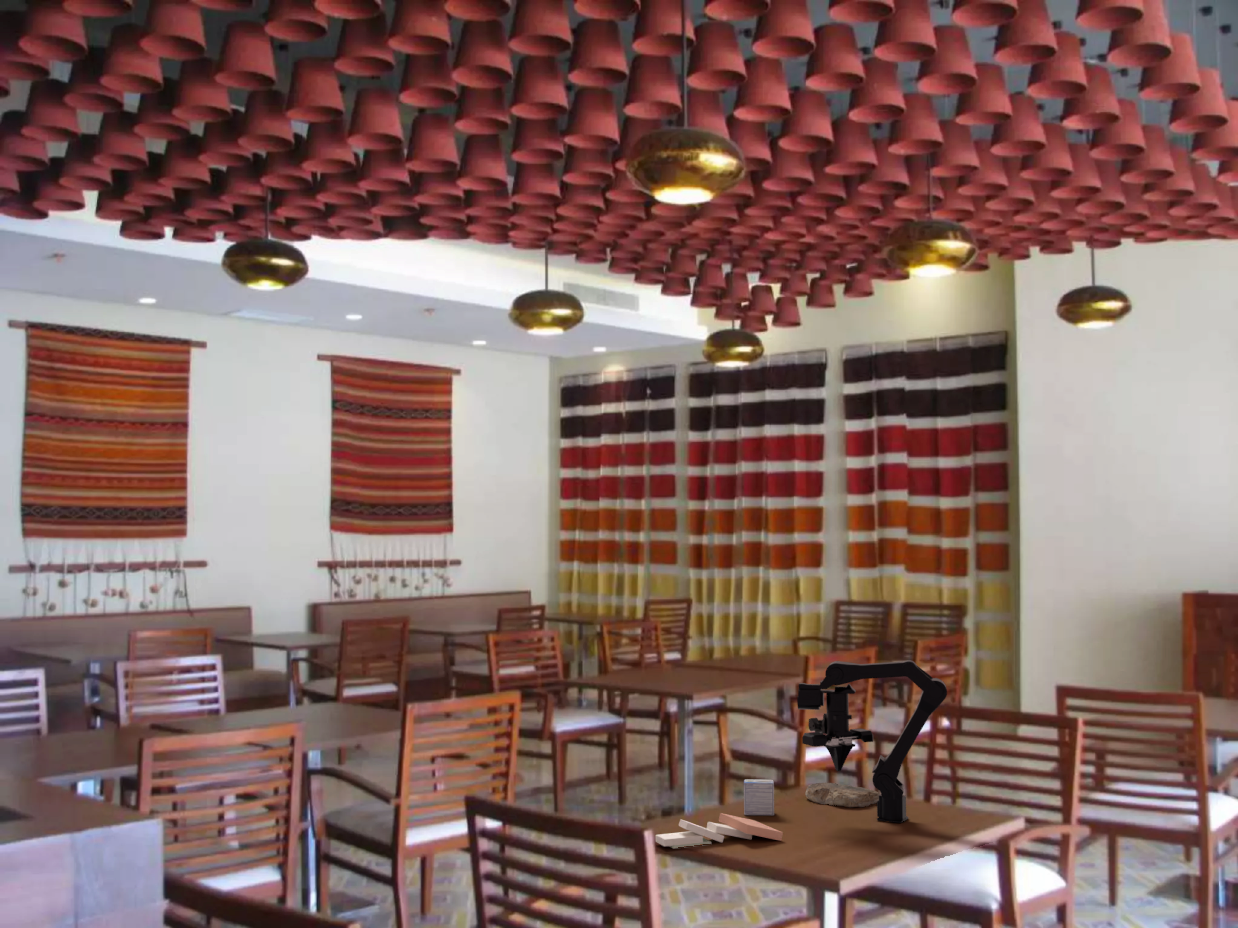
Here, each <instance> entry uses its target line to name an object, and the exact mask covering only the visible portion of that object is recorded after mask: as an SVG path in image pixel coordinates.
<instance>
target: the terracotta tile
mask: <svg viewBox="0 0 1238 928" xmlns="http://www.w3.org/2000/svg"><path fill="white" fill-rule="evenodd" d="M718 822H720V823H721V824H723V825H728V826H731V827H733V828H735V829H737V830H740V831H742V832H744V833H747V834H752V836H757V837H762V838H766V839H770V840H776V841H782V839H783V834H784V831H780V830H778V829H775V828H773V827H771V826H768V825H766V824H764V823H762V822H759V821H758V820H755V819H749V818H744V817H740V816H737V815H736V816H735V815H731V814H728V813H727V814H726V813H722V812H719V817H718Z"/></svg>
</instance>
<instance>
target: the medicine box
mask: <svg viewBox="0 0 1238 928" xmlns="http://www.w3.org/2000/svg"><path fill="white" fill-rule="evenodd" d="M774 783H775V782H774V780H773V779H755V778H754V779H748V778H747V779H744V780H743V810H744V811H743V812H744V813H743V814H744V816H775V784H774Z"/></svg>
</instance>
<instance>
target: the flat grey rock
mask: <svg viewBox="0 0 1238 928" xmlns="http://www.w3.org/2000/svg"><path fill="white" fill-rule="evenodd" d="M804 793H805V797H806V798H807V799H808V800H809V801H811V802H813V803H815V804H821V805H825V804H829V806H832V805H833V807H834V805H835V806H836V805H837V806H838V807H845V806H846V807H845V808H865V806H866V807H869V805H870V806H871V805H874V804H875V805H876V804H877V801H878V800H879V795H880V794H881V793H880V792H879V791H876V790H873V789H870V788H865V787H860V786H854V785H848V784H839V783H833V782H816V783H812V784H809V785H807V787H806V791H805V792H804Z"/></svg>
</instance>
